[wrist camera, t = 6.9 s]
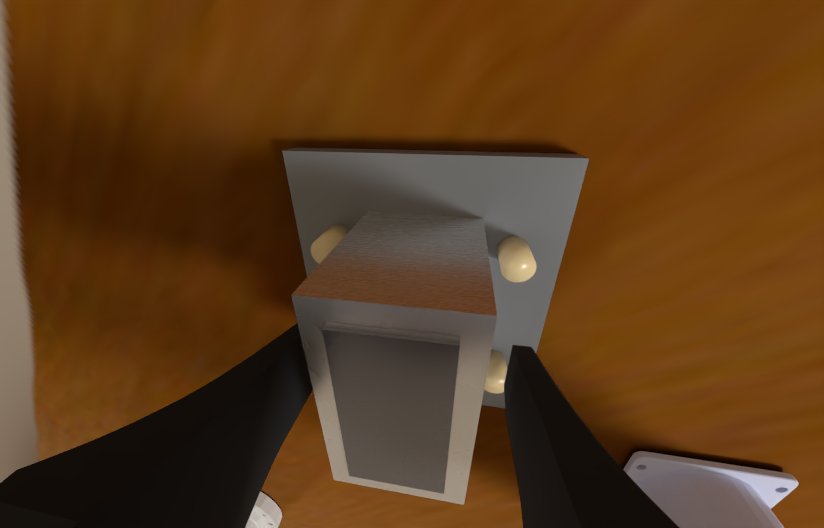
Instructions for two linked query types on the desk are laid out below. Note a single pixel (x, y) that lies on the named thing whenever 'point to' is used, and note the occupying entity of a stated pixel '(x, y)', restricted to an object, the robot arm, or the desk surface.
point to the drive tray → (460, 197)
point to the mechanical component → (264, 513)
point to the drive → (401, 350)
